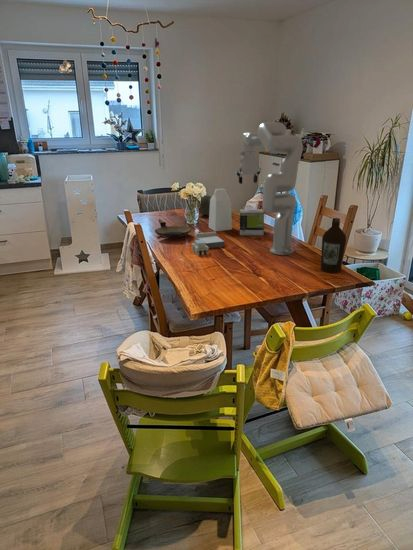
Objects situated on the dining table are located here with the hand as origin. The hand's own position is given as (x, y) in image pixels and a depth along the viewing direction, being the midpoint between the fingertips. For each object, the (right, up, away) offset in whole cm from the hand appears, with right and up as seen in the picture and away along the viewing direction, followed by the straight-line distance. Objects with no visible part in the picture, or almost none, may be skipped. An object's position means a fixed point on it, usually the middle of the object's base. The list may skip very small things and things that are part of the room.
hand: (247, 183), depth 242 cm
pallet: (-29, -44, -27) cm, 59 cm away
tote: (-29, -41, -28) cm, 57 cm away
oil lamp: (-47, -32, +4) cm, 57 cm away
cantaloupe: (-26, -12, +54) cm, 61 cm away
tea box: (+3, -31, +7) cm, 32 cm away
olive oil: (+34, -55, -54) cm, 84 cm away
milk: (-17, -26, +20) cm, 36 cm away
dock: (-24, -39, -13) cm, 47 cm away
